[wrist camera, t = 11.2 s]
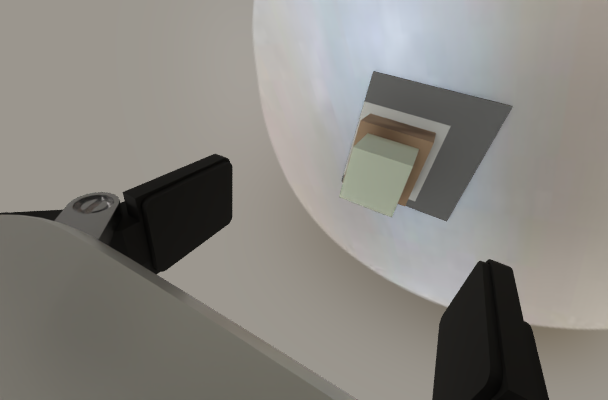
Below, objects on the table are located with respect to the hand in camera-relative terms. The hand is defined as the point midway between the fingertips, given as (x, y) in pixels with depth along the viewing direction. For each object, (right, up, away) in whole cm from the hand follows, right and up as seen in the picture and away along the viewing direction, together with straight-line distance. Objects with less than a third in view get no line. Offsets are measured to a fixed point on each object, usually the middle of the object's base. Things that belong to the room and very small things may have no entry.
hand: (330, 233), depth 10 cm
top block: (+7, +5, +18) cm, 20 cm away
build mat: (+11, +7, +20) cm, 24 cm away
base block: (+9, +6, +21) cm, 23 cm away
